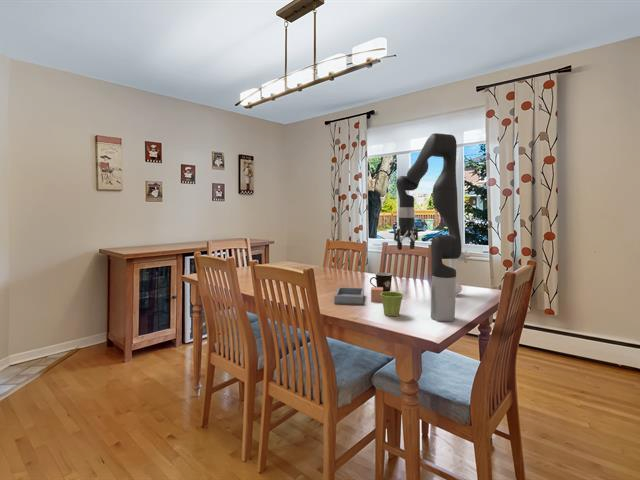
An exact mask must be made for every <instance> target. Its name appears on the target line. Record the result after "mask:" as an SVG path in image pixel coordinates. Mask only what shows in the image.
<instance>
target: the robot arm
mask: <svg viewBox="0 0 640 480" xmlns="http://www.w3.org/2000/svg"><path fill="white" fill-rule="evenodd" d="M457 144H458V143H457V139H456V137H455V136H454V135H453V134H448V133H440V132H439V133H431V134H430V135H429V136H428V138H427V139H426V140H425V142H424V145H423V147H422V148H421V150H420V152H419V154H418V156H417V159H416V160H415V161H414V163H413V165H411V167H410V168H409V169H408V170H407V172H406V175H400V176H398V177H397V179H396V182H395V185H396V190H397V194H398V198H399V210H398V226H399V228H394V235H393V241H395V242H397V244H396V245H397V247H396V248H397V250H398V251H402V250H403V240H404V239H405V238H408V239H409V240H410V241H409V249H410V250H414V249H415V243H416V241H418V240H419V230H418V228H416V227H414V226H415V197H414V196H413V195H410V194H408V193H407V192H406V191H408V192H409V191H415V190H417V188H419V185H420V182H421V180H422V179H423V177H424V176H425V175H426V173H427V172H428V170H429V159H430V158H431V157H436V158H437V157H438V158H442V159H443V164H442V166H443V167H442V169H441V172H440V174H439V175H438V177H437V179H436V181H435V182H434V184H433V187H432V199H433V201H432V202H433V206H434V208H435V210H436V212H437V213H438V214H439V215H440V217H441V218H442V220H443V221H444V223H445V225H446V227H447V230H448V235H433V237H432V238H431V243H430V255H431V258H430V259H431V265H430V266H431V284H430V286H431V287H430V288H431V289H430V318H431V319H432V320H435V321H436V322H453V321H455V319H456V317H455V316H456V296H455V294H456V279H457V269H456V270H455V269H454V268H451V267H450V266H448V265H446V264H445V263H443V260H449V259H457V258H459V257H460V255H461V251H462V238H461V229H460V223H459V208H458V207H459V206H458V204H459V203H458V186H457V152H458V151H457V149H458V148H457V147H458V146H457ZM457 260H458V259H457Z"/></svg>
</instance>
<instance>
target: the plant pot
mask: <svg viewBox="0 0 640 480" xmlns="http://www.w3.org/2000/svg"><path fill="white" fill-rule="evenodd" d="M380 295H381V296H382V300H383V302H382V307H383V314H384V315H385V316H387V317H398V316H400V310H401V305H402V300H403V297H404V293H401V292H397V291H390V292H382V293H380Z"/></svg>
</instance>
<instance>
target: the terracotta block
mask: <svg viewBox="0 0 640 480" xmlns="http://www.w3.org/2000/svg"><path fill="white" fill-rule="evenodd" d="M382 292H383V287H377V286H376V287H374V286H371V287H370V303H383V300H382V296H381V295H380V293H382Z"/></svg>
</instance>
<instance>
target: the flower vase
mask: <svg viewBox="0 0 640 480" xmlns="http://www.w3.org/2000/svg"><path fill="white" fill-rule="evenodd" d="M467 251H468V250H467V248H464V249H463V251H462V250H461V255H460V257H459V258H457V259H448V262H449V267H451V268H454V269H455V270H456V271H457V262H459V263H461V262H464V263H465V264H467V263H468V259H467V258H470V257H471V256H472V255H471V253H467ZM462 291H463V287H462V285H461V284H460V283H459V281H458V280H457V278H456V294H455V297H458V296H459V294H460V293H461V292H462Z"/></svg>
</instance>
